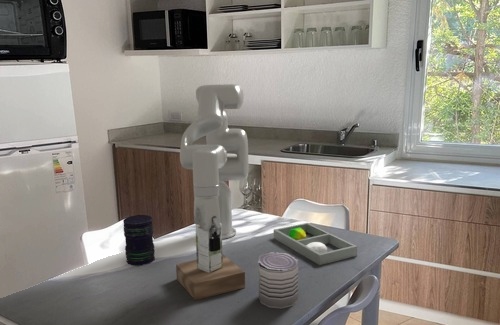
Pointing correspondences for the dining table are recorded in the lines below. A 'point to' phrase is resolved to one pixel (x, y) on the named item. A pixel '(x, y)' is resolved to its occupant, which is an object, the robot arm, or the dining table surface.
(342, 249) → the fruit tray
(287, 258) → the can
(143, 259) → the storage jar
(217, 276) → the base block
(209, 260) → the syrup box
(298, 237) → the apple
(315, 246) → the garlic
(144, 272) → the dining table surface
